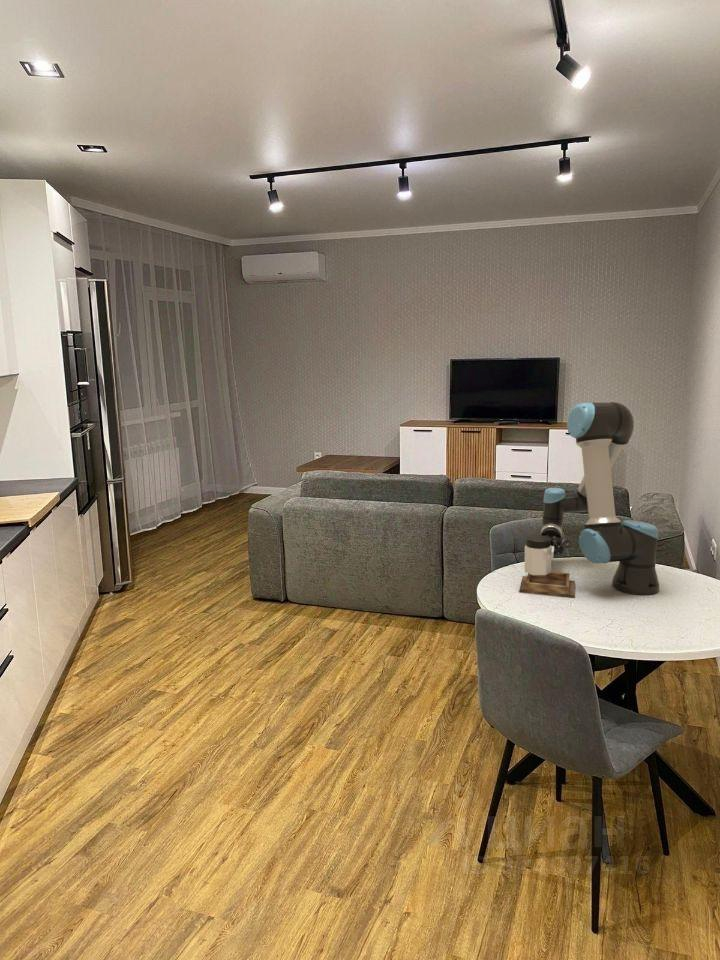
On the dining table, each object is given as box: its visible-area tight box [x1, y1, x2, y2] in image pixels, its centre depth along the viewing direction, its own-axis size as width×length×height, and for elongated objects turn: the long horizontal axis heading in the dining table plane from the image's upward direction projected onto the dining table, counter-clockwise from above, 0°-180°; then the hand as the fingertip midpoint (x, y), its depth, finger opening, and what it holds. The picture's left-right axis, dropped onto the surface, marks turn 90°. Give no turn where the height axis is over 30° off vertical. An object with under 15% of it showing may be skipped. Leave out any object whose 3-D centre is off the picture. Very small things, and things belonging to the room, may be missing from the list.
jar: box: [524, 534, 552, 575], centre depth 244 cm, size 9×8×12 cm
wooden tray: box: [518, 571, 576, 599], centre depth 246 cm, size 18×15×4 cm
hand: (548, 555), depth 239 cm, fingers closed on jar, 2 cm apart
